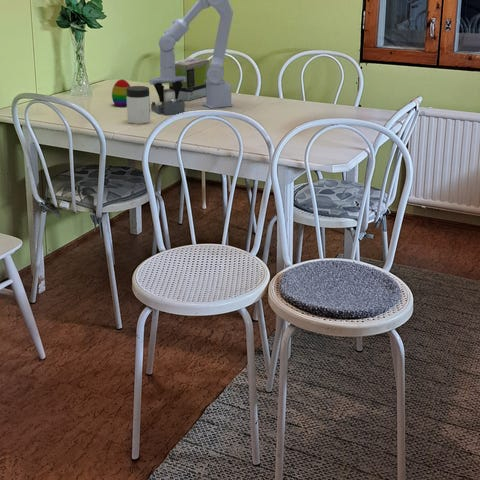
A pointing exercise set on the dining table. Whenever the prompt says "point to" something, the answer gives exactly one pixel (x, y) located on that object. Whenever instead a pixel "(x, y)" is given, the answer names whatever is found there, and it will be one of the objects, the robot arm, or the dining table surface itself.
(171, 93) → the pump
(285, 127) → the dining table surface
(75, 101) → the dining table surface
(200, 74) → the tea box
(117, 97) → the decorative egg
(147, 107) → the jar
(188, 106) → the dining table surface
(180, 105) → the motor cradle
